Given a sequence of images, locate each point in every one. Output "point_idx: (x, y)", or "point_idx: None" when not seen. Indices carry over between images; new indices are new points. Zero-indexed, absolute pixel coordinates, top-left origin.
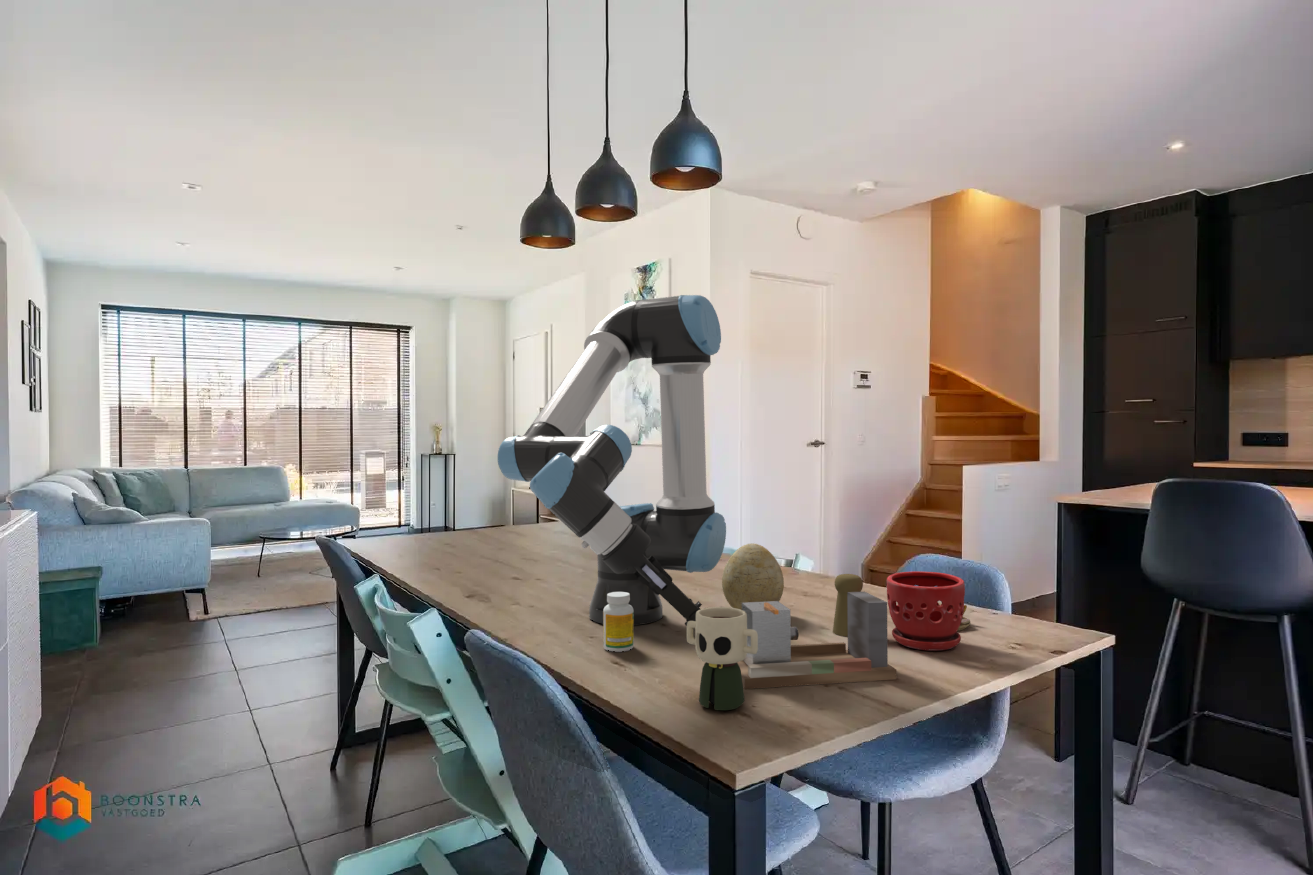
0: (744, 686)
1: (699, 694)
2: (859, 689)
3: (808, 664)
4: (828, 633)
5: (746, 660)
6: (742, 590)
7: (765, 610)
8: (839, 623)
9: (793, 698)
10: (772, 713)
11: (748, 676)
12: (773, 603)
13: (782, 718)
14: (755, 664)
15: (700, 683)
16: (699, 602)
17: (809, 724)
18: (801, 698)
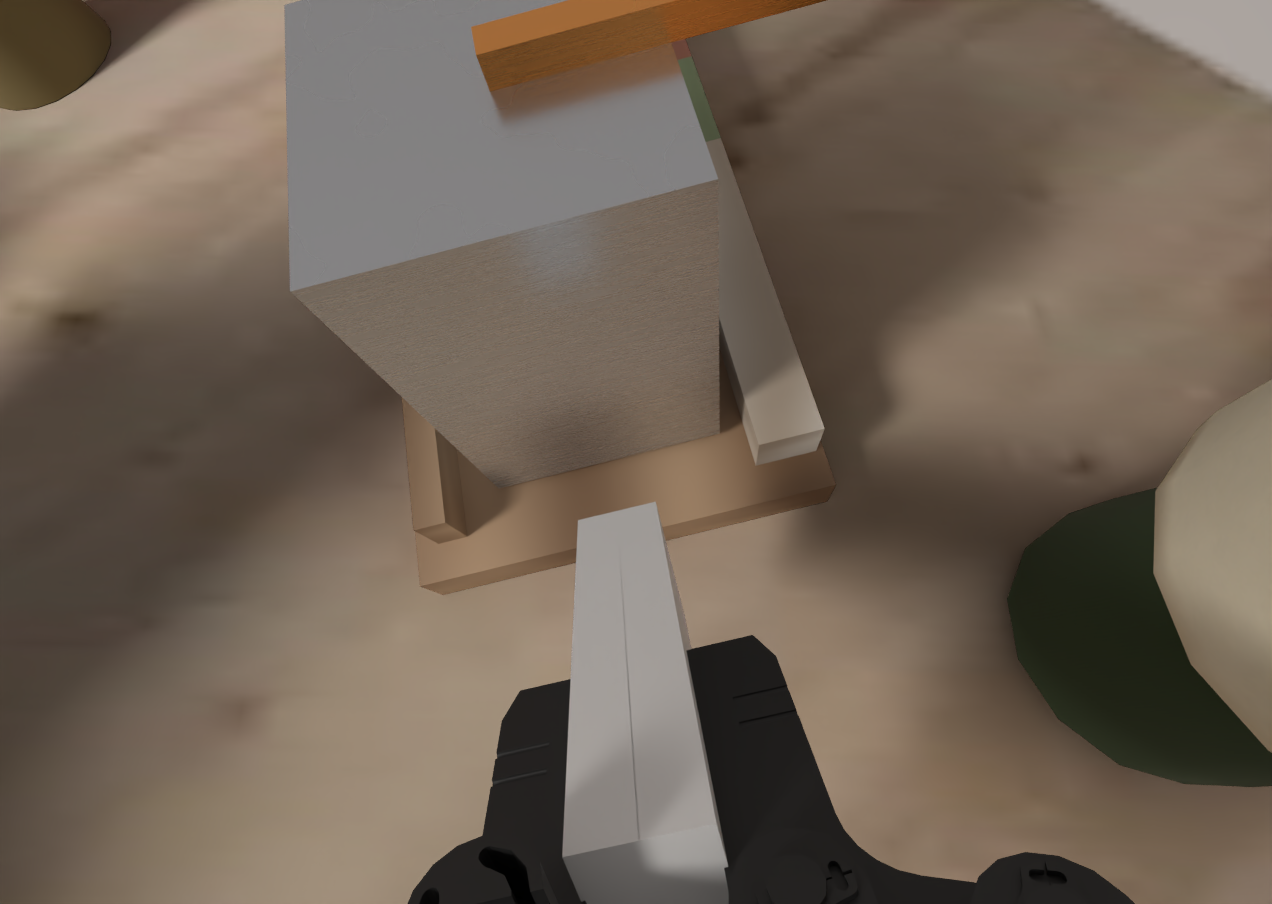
0: (823, 499)
1: (1213, 784)
2: (766, 61)
3: (723, 151)
4: (31, 125)
5: (589, 458)
6: None
7: (663, 74)
8: (17, 43)
9: (925, 287)
10: (1165, 381)
11: (790, 462)
12: (374, 29)
13: (1220, 341)
14: (748, 401)
15: (1268, 785)
16: (503, 899)
17: (1257, 240)
18: (918, 256)
